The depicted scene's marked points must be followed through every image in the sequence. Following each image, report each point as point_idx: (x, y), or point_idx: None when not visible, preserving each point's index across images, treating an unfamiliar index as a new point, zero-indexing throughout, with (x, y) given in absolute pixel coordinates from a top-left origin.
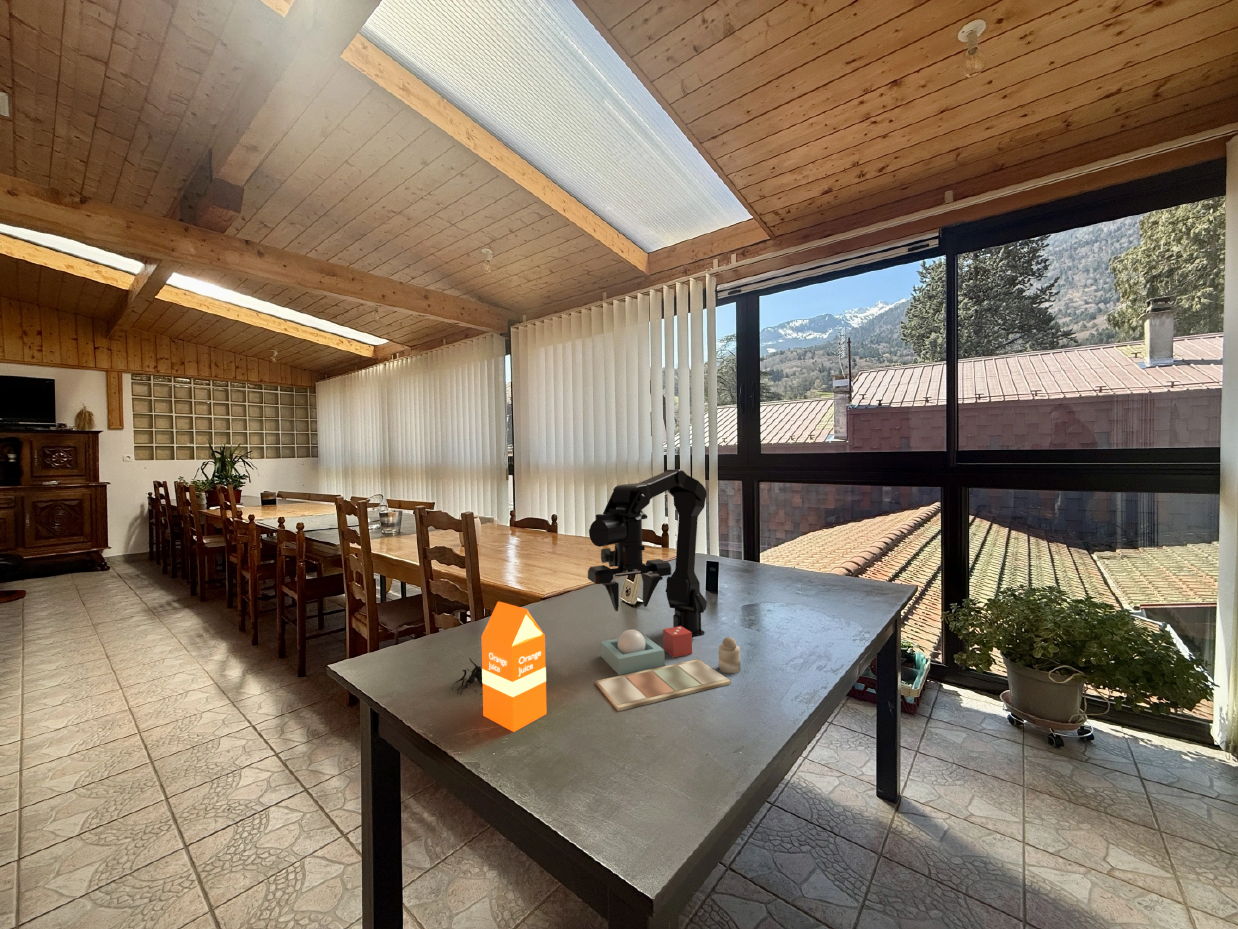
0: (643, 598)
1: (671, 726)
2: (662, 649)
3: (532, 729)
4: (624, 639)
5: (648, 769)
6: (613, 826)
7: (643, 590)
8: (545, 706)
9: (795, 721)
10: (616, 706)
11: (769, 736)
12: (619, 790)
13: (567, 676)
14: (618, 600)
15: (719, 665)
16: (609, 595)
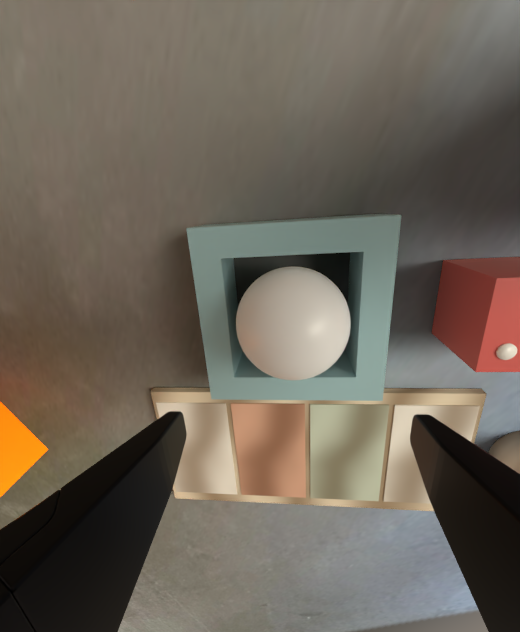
0: (445, 468)
1: (248, 552)
2: (379, 394)
3: (29, 478)
4: (250, 358)
5: (181, 594)
6: (125, 625)
7: (515, 541)
8: (34, 462)
9: (442, 613)
10: (174, 491)
11: (371, 616)
12: (140, 602)
13: (88, 322)
14: (146, 550)
15: (499, 456)
16: (54, 498)
